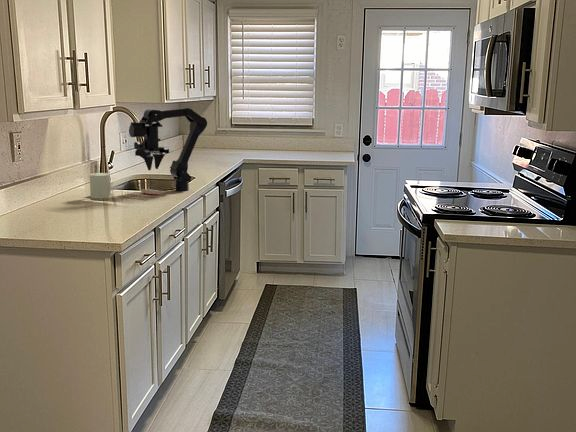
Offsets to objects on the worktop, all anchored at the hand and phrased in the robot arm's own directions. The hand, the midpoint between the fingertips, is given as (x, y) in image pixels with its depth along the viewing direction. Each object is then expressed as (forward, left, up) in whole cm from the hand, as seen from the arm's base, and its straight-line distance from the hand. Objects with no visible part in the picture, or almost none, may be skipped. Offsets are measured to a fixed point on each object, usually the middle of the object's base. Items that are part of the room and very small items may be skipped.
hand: (153, 169), depth 276 cm
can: (+19, -15, -13) cm, 28 cm away
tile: (+4, 0, -10) cm, 11 cm away
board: (+9, 0, -12) cm, 16 cm away
